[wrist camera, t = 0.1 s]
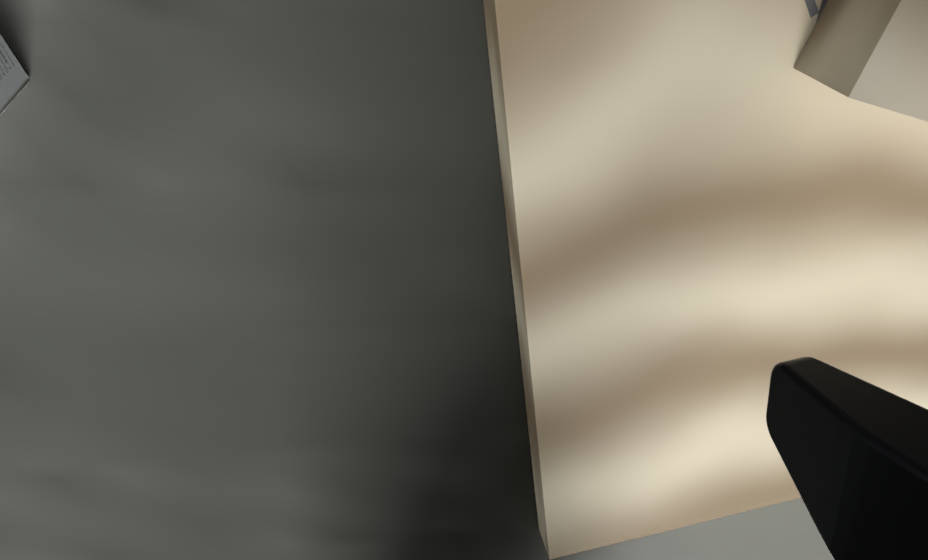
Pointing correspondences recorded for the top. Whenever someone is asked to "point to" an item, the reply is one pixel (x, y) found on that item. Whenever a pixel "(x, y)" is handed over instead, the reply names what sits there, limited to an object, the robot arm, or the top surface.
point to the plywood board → (691, 249)
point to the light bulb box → (10, 76)
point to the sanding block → (872, 53)
